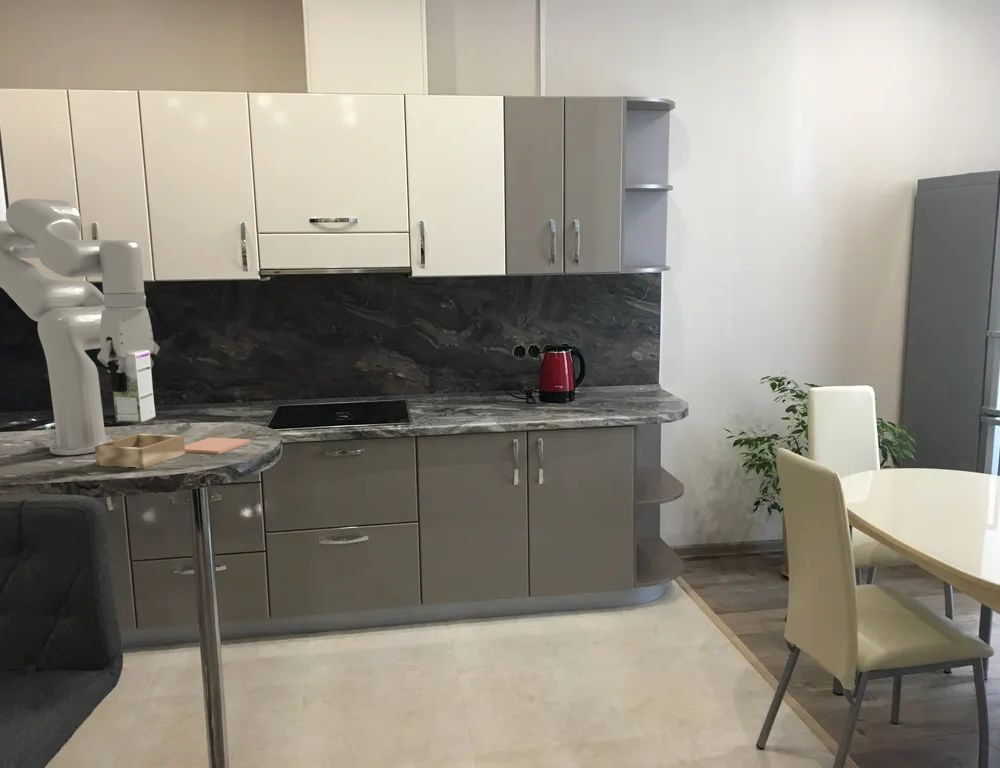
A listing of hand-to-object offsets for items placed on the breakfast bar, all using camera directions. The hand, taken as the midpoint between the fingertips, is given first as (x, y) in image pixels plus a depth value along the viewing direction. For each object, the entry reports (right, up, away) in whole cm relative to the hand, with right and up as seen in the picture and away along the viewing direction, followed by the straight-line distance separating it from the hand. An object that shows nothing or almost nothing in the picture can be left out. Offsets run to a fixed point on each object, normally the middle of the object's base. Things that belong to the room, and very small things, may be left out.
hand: (133, 388), depth 159 cm
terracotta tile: (+12, -13, +12) cm, 22 cm away
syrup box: (0, -7, +1) cm, 7 cm away
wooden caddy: (+1, -15, +2) cm, 15 cm away
